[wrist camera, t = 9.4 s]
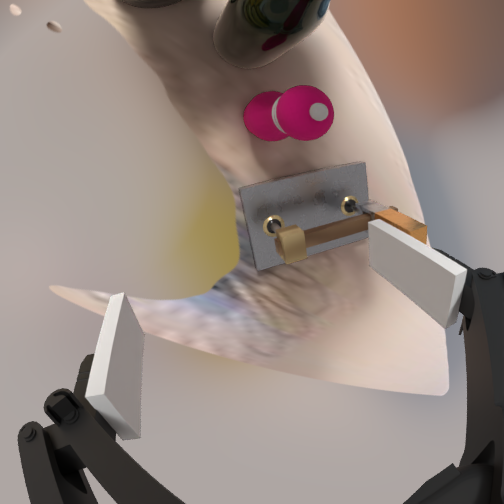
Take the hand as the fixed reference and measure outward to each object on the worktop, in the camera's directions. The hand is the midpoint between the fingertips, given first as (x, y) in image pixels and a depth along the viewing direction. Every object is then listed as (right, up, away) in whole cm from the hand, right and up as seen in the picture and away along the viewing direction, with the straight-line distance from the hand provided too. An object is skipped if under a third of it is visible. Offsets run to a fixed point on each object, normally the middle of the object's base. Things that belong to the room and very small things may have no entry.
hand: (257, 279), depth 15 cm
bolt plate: (+9, +8, +36) cm, 38 cm away
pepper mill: (+1, +22, +28) cm, 35 cm away
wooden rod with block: (+11, +8, +34) cm, 37 cm away
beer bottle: (-1, +33, +22) cm, 40 cm away
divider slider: (+17, +9, +35) cm, 39 cm away
